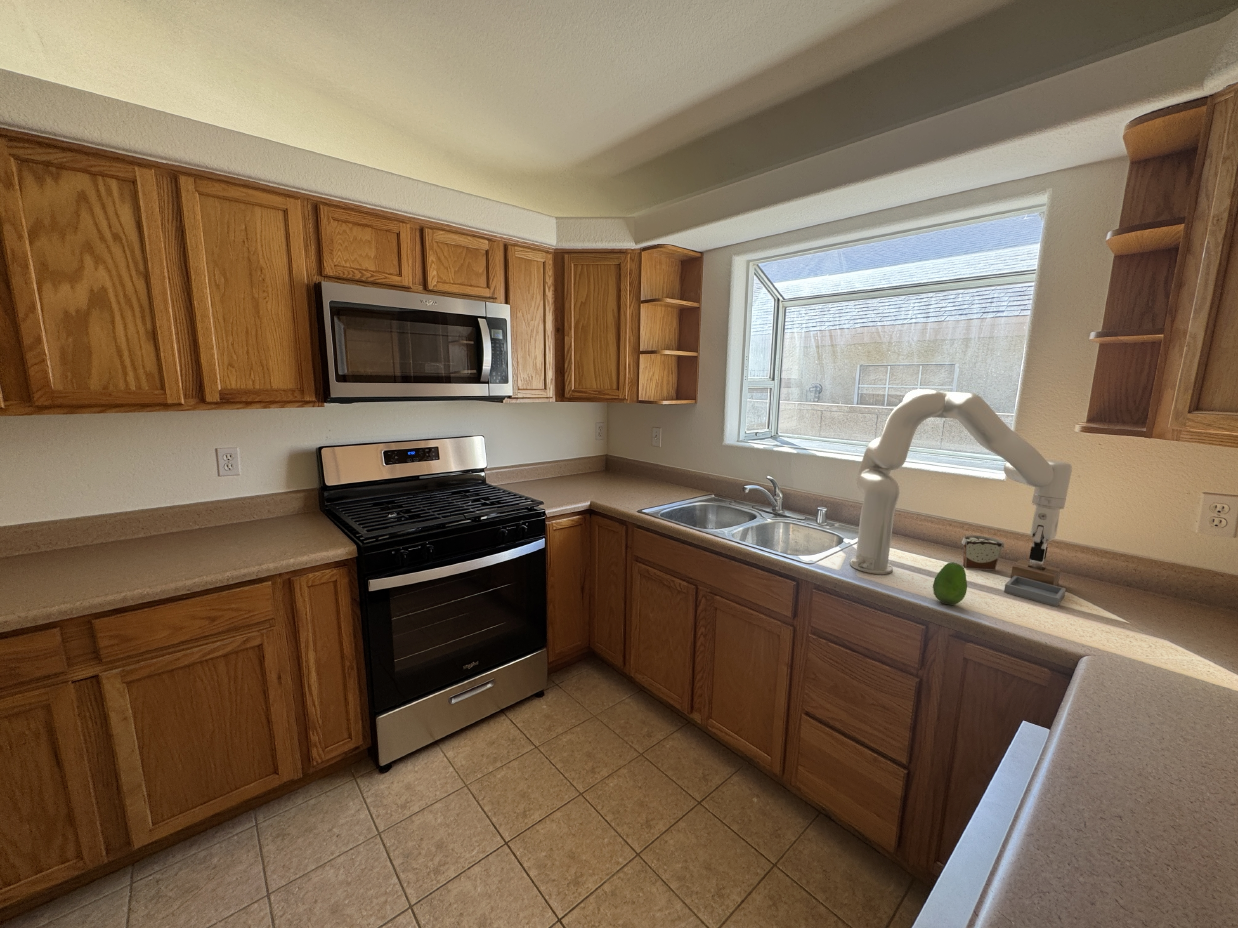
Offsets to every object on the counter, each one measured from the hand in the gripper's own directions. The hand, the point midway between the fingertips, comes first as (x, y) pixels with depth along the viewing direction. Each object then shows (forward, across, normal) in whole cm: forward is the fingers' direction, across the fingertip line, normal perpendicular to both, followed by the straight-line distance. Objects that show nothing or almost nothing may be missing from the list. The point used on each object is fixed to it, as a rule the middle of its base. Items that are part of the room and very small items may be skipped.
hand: (1037, 558), depth 153 cm
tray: (+8, -11, -2) cm, 14 cm away
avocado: (+8, -39, +12) cm, 42 cm away
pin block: (+8, 0, 0) cm, 8 cm away
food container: (+8, +2, +16) cm, 18 cm away
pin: (+7, 0, 0) cm, 7 cm away
